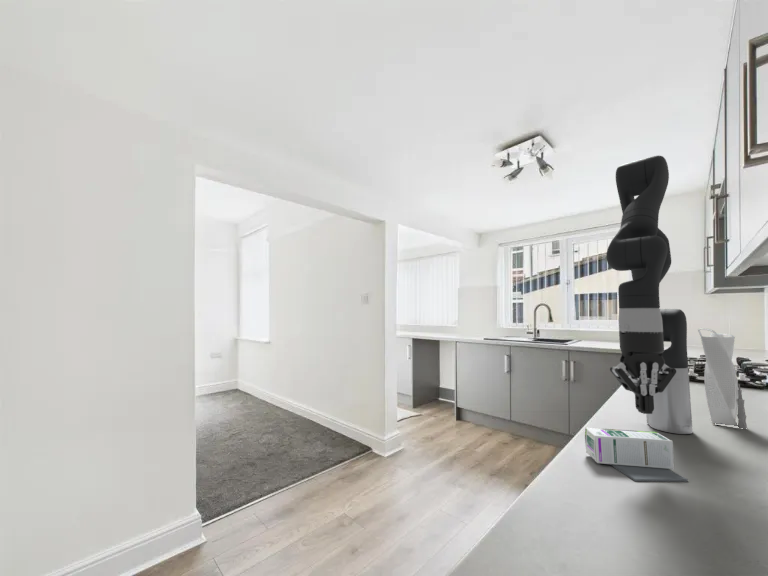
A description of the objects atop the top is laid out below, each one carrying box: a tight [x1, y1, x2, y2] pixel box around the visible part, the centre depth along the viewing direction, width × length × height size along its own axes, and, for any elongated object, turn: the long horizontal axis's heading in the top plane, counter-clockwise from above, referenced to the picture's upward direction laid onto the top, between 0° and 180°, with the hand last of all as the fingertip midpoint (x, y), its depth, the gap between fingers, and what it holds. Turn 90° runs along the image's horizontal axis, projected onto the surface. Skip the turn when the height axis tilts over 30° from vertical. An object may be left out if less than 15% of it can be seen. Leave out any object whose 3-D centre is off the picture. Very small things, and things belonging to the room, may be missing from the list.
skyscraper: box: [697, 327, 748, 429], centre depth 100 cm, size 8×8×28 cm
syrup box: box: [584, 427, 675, 470], centre depth 73 cm, size 6×6×14 cm
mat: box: [609, 464, 689, 483], centre depth 70 cm, size 12×10×1 cm
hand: (644, 412), depth 71 cm, fingers closed
